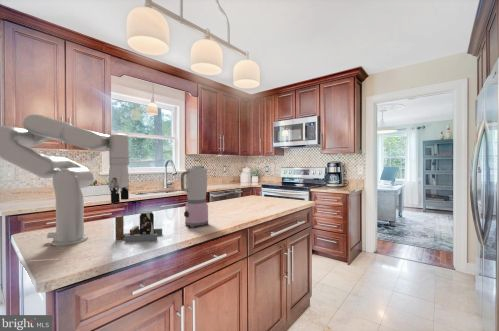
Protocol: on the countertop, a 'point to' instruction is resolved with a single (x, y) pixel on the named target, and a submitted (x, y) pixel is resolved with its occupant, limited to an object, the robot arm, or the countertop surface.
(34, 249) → the countertop surface
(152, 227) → the beverage can
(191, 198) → the blender
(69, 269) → the countertop surface
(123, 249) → the countertop surface
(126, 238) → the channel
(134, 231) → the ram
